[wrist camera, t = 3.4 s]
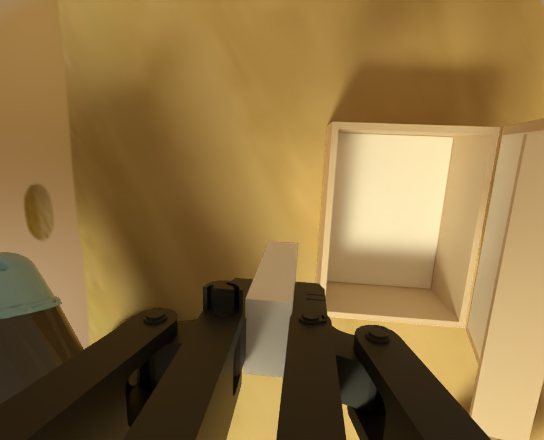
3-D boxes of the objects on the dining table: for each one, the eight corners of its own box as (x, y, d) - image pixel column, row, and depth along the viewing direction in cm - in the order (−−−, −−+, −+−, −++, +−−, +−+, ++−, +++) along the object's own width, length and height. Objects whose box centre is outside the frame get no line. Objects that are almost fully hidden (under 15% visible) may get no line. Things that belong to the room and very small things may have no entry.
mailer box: (315, 283, 36) (318, 316, 29) (326, 126, 32) (332, 121, 26) (433, 292, 35) (464, 327, 28) (458, 130, 31) (500, 127, 24)
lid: (465, 447, 17) (522, 464, 16) (532, 107, 13) (610, 107, 12) (439, 324, 28) (471, 330, 28) (471, 126, 25) (509, 127, 24)
